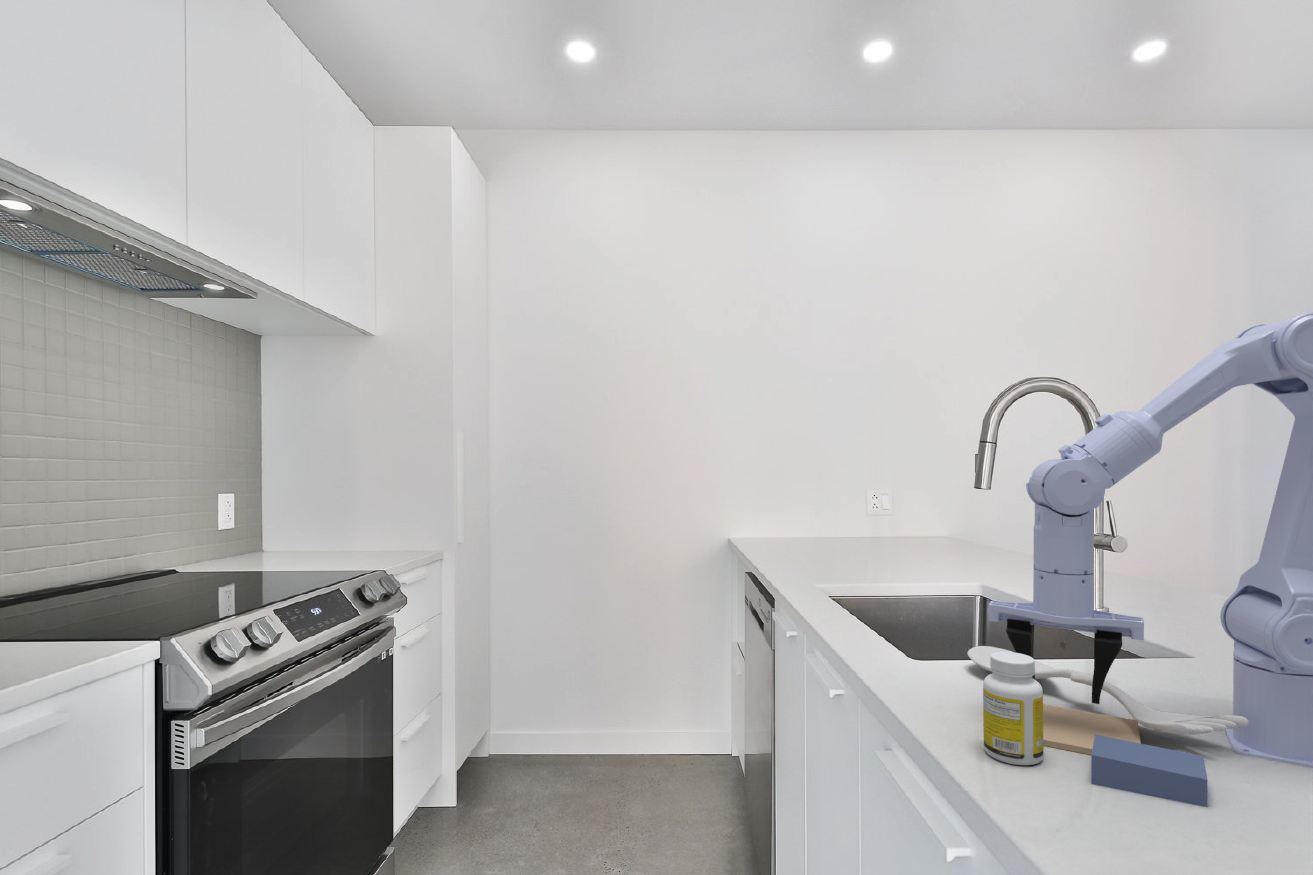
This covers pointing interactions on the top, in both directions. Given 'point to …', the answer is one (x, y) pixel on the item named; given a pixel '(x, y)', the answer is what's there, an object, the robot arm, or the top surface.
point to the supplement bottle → (1013, 710)
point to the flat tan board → (1083, 728)
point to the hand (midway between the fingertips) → (1062, 695)
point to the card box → (1149, 770)
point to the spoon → (1127, 700)
